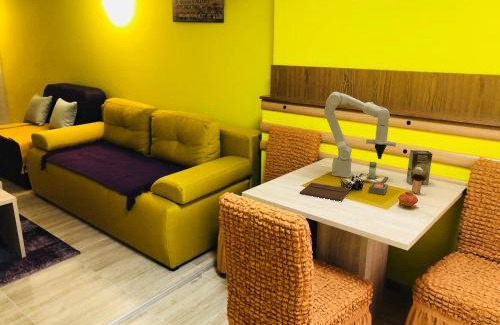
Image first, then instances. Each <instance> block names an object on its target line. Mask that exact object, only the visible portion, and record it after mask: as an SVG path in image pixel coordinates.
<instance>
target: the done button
mask: <svg viewBox="0 0 500 325" xmlns="http://www.w3.org/2000/svg"><path fill="white" fill-rule="evenodd" d="M374 187H378V188H383V185H381V184H374Z"/></svg>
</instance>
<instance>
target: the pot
mask: <svg viewBox="0 0 500 325" xmlns="http://www.w3.org/2000/svg"><path fill="white" fill-rule="evenodd" d="M418 202H419V198H418V197H417V196H416V195H415V193H410V191H405V192H403V193H401V194H400V195H399V196H398V205H399V206H400V207H401V206H402V204H403V205H404V206H408V207H409V206H410V209H413V208H414V206H415V205H416V204H417V203H418Z"/></svg>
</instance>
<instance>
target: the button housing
mask: <svg viewBox="0 0 500 325" xmlns="http://www.w3.org/2000/svg"><path fill="white" fill-rule="evenodd" d="M374 184H380V183H372V184H370V185H369V186H368V194H374V195H380V196H385V195H386V193H387V192H388V186H389V185H388V184H385V183H384V184H381V185H383V188H378V187H374Z"/></svg>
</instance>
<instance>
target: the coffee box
mask: <svg viewBox="0 0 500 325" xmlns="http://www.w3.org/2000/svg"><path fill="white" fill-rule="evenodd" d="M432 159H433V153H432V152H431V151H429V150H414V149H413V150H412V149H410V150H409V158H408V165H407V173H406V179H405V181H406V182H407V183H408V184H409V185H413V181H414V179H412V181H409V180H410V178H411V176H412V175H414V174H416V170H415V169H416V168H417V167H421V168H422V170H423V172H422V173H421V174H420V175H422V176H424V177H425V179H426V182H427V183H426V184H425V183H424V181H423V180H421V186H424V185H425V186H428V185H429V182H430V181H429V180H430V175H431V168H432Z"/></svg>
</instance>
